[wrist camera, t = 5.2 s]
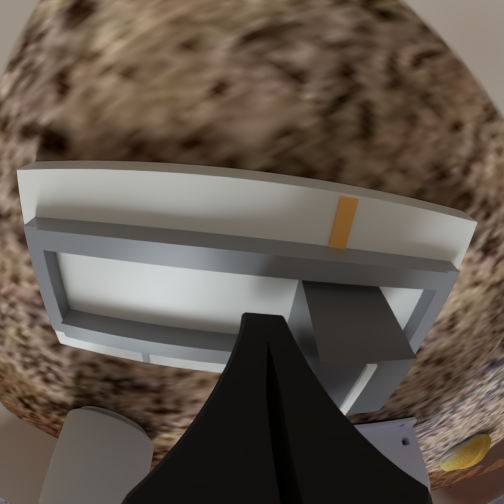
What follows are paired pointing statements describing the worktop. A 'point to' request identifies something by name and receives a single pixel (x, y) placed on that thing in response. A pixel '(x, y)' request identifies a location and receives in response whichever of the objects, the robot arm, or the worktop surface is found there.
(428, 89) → the worktop surface
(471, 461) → the bread roll
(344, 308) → the fader
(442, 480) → the worktop surface
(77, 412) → the can
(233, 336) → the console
